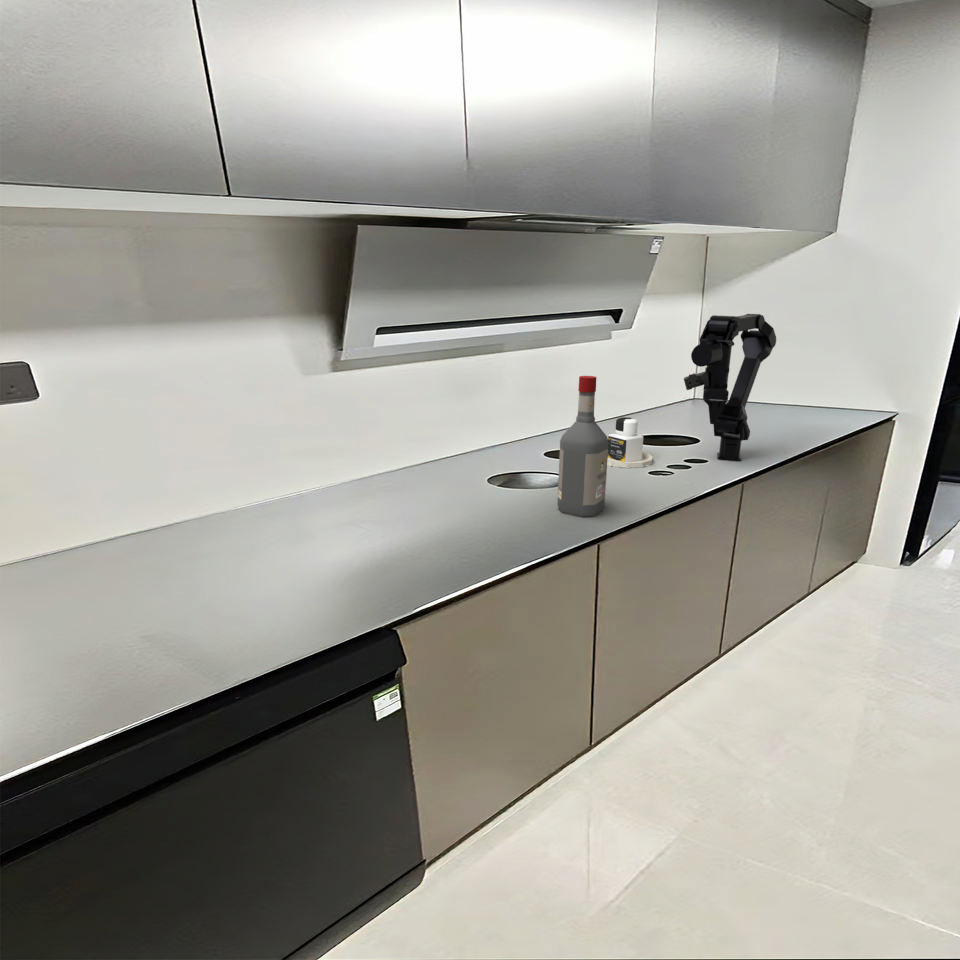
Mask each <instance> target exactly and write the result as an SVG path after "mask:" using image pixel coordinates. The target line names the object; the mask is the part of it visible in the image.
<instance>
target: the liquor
mask: <svg viewBox="0 0 960 960" xmlns="http://www.w3.org/2000/svg"><path fill="white" fill-rule="evenodd" d="M578 378H579V379H578V406H577V416H576V418H575V419H576V420H575V421H574V423H572V425H570V427H569V428H568V429H567V430H566V431H565V432H564V433H563V434H562V436H561V438H560V439H559V440H560V441H559V458H558V483H557V507H558V509H559V510H560V511H561V512H562V513H563V514H567V515H571V516H576V517H580V518H589V517H591V518H592V517H594V516H596V515H598V514H599V513H600V512H602V511H603V510H604V509H605V504H606V503H605V501H606V489H607V488H606V486H607V474H608V473H607V470H608V466H607V460H608V444H609V441H608V436H607V435H606V433H605V432H604V431H603V430H602V428H601V427H600V426H599V425H598V424H597V422H596V416H595V400H596V398H595V397H596V390H597V376H593V375H581V376H579V377H578Z"/></svg>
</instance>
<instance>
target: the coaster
mask: <svg viewBox="0 0 960 960" xmlns="http://www.w3.org/2000/svg"><path fill="white" fill-rule="evenodd" d="M653 458H654V457H653V455H651V454H649V453H648V452H645V451H642V459H641V460H639V461H634V462H620V461H615V460H611V459H608V460H607V465H610V466H620V467H642V466H646V465H650V464H651V465H652V464H653V460H654V459H653ZM651 465H650V466H651ZM610 466H609V467H610ZM646 467H647V466H646Z"/></svg>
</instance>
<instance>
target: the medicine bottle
mask: <svg viewBox="0 0 960 960" xmlns="http://www.w3.org/2000/svg"><path fill="white" fill-rule="evenodd" d="M615 420H616V421H615V430H614V431H615V433H610V434H608V436H607V438H608V441H609V444H608V459H611V460H615V461H620V462H634V461H639V460H641V459H642V452H643V448H644V436H643V435H641V434H637V433H638V425H639V424H638V423H639V422H638V420H637V419H636V418H633V417H628V416H627V417H625V416H624V417H623V416H622V417H619V418H617V419H615Z"/></svg>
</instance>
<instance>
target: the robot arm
mask: <svg viewBox="0 0 960 960" xmlns="http://www.w3.org/2000/svg"><path fill="white" fill-rule="evenodd" d="M756 329H757V330H756ZM740 332H741V334H739V333H740ZM738 335H740V339H741V342H742V346H741V348H742V351H743V355H744V357H743V361H742V363H741V365H740V368H739V372H738V374H737V376H736V379H735V383H734V385H733V388H732V390H731V393H730V396H729V390H728V386H729V384H728V383H729V374H730V366H731V365H730V364H731V356H732V347H734V346H735V342H734V340H735V338H736V337H737V336H738ZM776 344H777V336H776V332H775V329H774V327H773V326H772V325H770V324H769V323H768V322H767V321H766V319H765V315H762V314H759V313H746V314H744V315H738V316H737V315H736V316H735V315H734V316H733V315H715V314H714V315H713V314H712V315H711V316H710V317H709V319H708V320H707V322H706V324H705V326H704V328H703V331H702V332H701V336H700V338H699V344H697V345H696V346H695V347H694V348H693V349H692V351H691V354H690V358H691V361H692V363H693V364H694V365H696V366H697V367H702V368H703V367H705V368H704V369H705V370H704V371H701V372H698V373H694V372H693V373H691V374H690V373H689V374H688V376H684V377H683V382H684V385H685V389H686V391H690V390H693V389H695V388H698V387H701V386H703V389H702V390H703V394H702V401H703V402H705V403H706V405H707V406H708V415H709V423H710V425H713V436H714V437H720V443H719V452H717V453H716V456H717V458H716V459H717V460H728V461H736V462H737V461H738V462H739V461H742V456H741V454H740V453H741V447H742V441H749V439H750V434H751V430H750V428H749V427H750V426H749V424H748V422H747V421H748V415H747V414H748V413H747V411H746V405H747V403H748V399H749V397H750V395H751V393H752V389H753V386H754V383H755V381H756V378H757V374H758V371H759V369H760V366H761V364H762V362H763V361H764V360H766V359H767V358H769V356H770V355H771V353H772V351H773V348H775V346H776Z"/></svg>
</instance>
